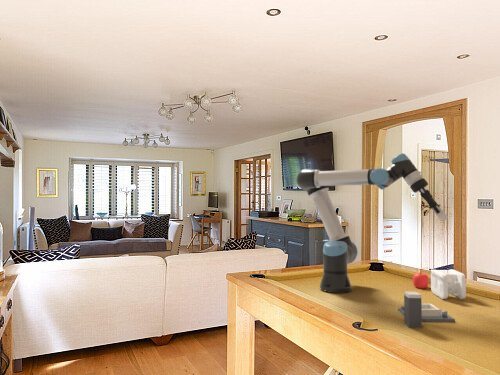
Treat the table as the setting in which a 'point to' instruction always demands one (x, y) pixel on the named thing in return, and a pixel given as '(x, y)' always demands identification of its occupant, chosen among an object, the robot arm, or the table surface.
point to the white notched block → (448, 284)
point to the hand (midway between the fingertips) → (444, 219)
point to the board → (432, 314)
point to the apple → (420, 280)
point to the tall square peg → (412, 309)
